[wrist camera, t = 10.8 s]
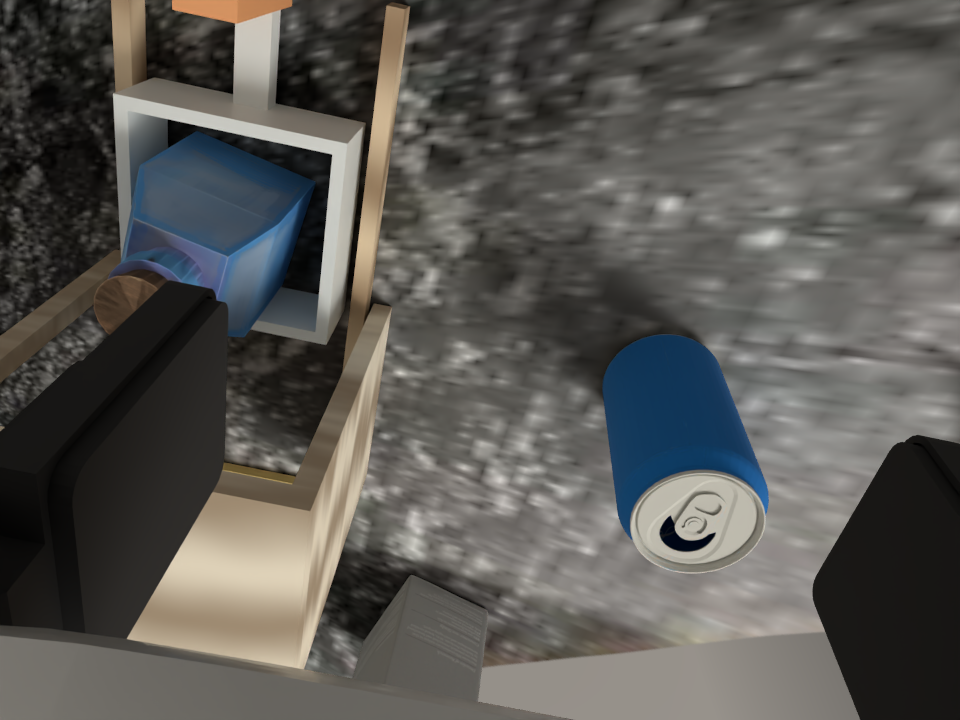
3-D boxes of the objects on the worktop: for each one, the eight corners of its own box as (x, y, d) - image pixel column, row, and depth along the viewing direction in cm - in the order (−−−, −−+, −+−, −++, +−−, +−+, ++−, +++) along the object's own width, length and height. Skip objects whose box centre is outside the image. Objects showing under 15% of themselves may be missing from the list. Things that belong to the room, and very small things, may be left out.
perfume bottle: (172, 238, 40) (44, 347, 30) (197, 130, 37) (64, 209, 27) (283, 283, 41) (195, 404, 31) (316, 182, 38) (231, 277, 28)
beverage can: (582, 402, 44) (593, 551, 33) (635, 309, 40) (666, 442, 30) (682, 441, 44) (724, 598, 34) (742, 353, 41) (808, 497, 31)
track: (125, -57, 33) (108, -57, 32) (410, 6, 34) (404, 9, 33) (144, 437, 47) (132, 452, 46) (346, 477, 48) (341, 493, 46)
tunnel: (115, 249, 41) (-119, 426, 26) (391, 306, 41) (310, 511, 27) (124, 427, 47) (-62, 650, 33) (366, 475, 47) (288, 716, 33)
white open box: (150, -103, 32) (59, -109, 26) (386, -50, 33) (350, -44, 27) (158, 271, 41) (92, 331, 35) (344, 309, 41) (310, 375, 35)
